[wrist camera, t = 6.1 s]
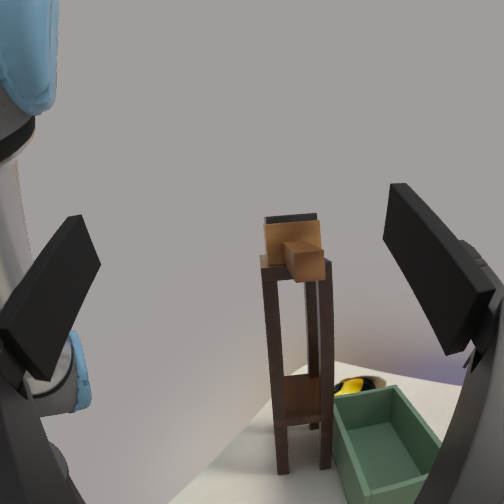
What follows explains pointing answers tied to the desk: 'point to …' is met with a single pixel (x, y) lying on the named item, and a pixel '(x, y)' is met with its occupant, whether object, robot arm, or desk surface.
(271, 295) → the brown wooden stand
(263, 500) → the desk surface
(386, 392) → the bin
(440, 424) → the desk surface
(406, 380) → the desk surface
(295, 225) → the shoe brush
